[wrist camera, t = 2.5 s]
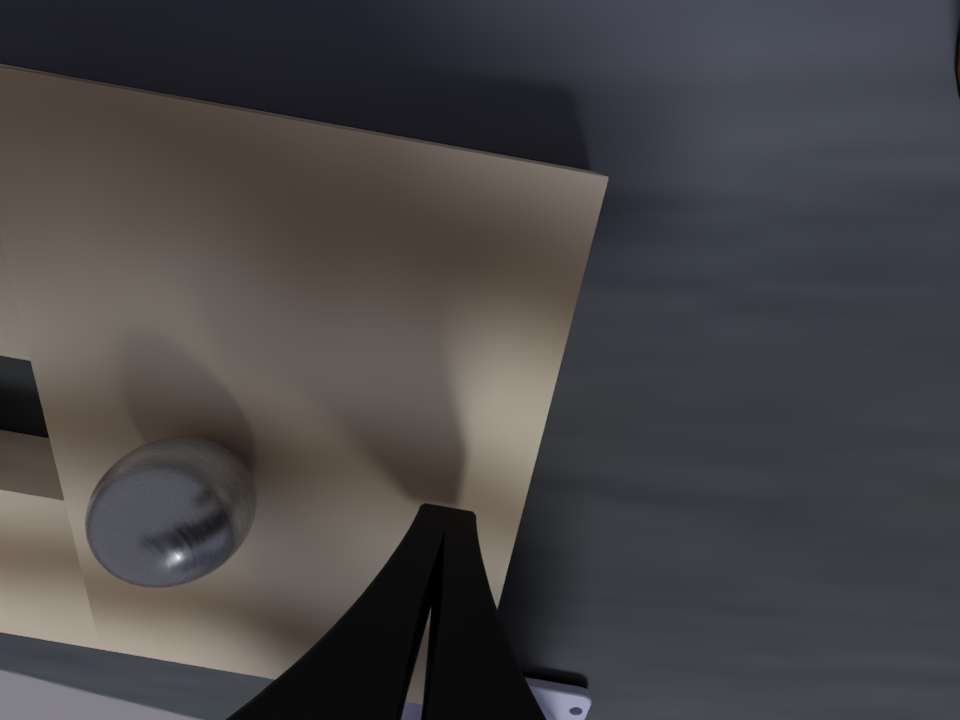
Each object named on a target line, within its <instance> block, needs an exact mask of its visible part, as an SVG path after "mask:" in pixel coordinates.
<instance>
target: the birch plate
mask: <svg viewBox="0 0 960 720" xmlns="http://www.w3.org/2000/svg"><path fill="white" fill-rule="evenodd" d="M608 179H609V177H607V176H604V175H602V174H599V173H596V172H593V171H590V170H584V169H579V168H573V167H568V166H562V165H557V164H551V163H546V162H540V161H535V160H529V159H523V158H518V157H512V156H507V155H501V154H496V153H490V152H485V151H479V150H474V149H468V148H463V147H457V146H452V145H446V144H441V143H435V142H430V141H424V140H418V139H413V138H407V137H402V136H396V135H391V134H385V133H380V132H374V131H369V130H363V129H358V128H352V127H347V126H341V125H336V124H330V123H325V122H319V121H313V120H308V119H302V118H297V117H291V116H286V115H280V114H275V113H269V112H264V111H258V110H253V109H247V108H242V107H236V106H231V105H225V104H219V103H214V102H208V101H203V100H197V99H192V98H186V97H181V96H175V95H170V94H164V93H159V92H153V91H148V90H142V89H137V88H131V87H126V86H120V85H114V84H109V83H103V82H98V81H92V80H87V79H81V78H76V77H70V76H65V75H59V74H54V73H48V72H43V71H37V70H32V69H26V68H21V67H15V66H9V65H4V64H0V356H6V357H12V358H17V359H23V360H29V361H31V364H32V368H33V373H34V377H35V381H36V385H37V389H38V393H39V397H40V401H41V406H42V410H43V414H44V418H45V422H46V426H47V430H48V435H49V438H45V437H39V436H33V435H28V434H22V433H16V432H11V431H5V430H0V632H3V633H9V634H15V635H20V636H26V637H32V638H38V639H44V640H50V641H55V642H61V643H67V644H73V645H79V646H84V647H90V648H96V649H102V650H108V651H113V652H119V653H125V654H131V655H137V656H143V657H148V658H154V659H160V660H166V661H172V662H177V663H183V664H189V665H195V666H201V667H207V668H212V669H218V670H224V671H230V672H236V673H241V674H247V675H253V676H259V677H265V678H271V679H277V678H278V677H279V676H280V675H282V674H283V673H284V672H285V671H286V670H287V669H289V668H290V667H291V666H292V665H293V664H294V663H296V662H297V661H298V660H299V659H300V658H301V657H302V656H303V655H304V654H305V653H306V652H307V651H308V650H310V649H311V648H312V647H313V646H314V645H315V644H316V643H317V642H318V641H319V640H320V639H321V638H322V637H323V636H324V635H325V634H326V633H327V632H328V631H329V630H330V629H331V628H332V627H333V626H334V625H335V624H336V623H337V621H338V620H339V619H340V618H341V617H342V616H343V615H344V614H345V613H346V612H347V611H348V610H349V608H350V607H351V606H352V605H353V604H354V603H355V602H356V600H357V599H358V598H359V597H360V596H361V595H362V593H363V592H364V591H365V590H366V588H367V587H368V586H369V585H370V583H371V582H372V581H373V580H374V578H375V577H376V576H377V575H378V573H379V572H380V571H381V569H382V568H383V567H384V565H385V564H386V563H387V561H388V560H389V558H390V557H391V555H392V554H393V553H394V551H395V550H396V548H397V547H398V545H399V544H400V542H401V541H402V539H403V538H404V536H405V534H406V533H407V531H408V529H409V528H410V526H411V524H412V522H413V520H414V518H415V516H416V515H417V512H418V510H419V507H420V506H421V505H423V504H424V503H428V504H434V505H439V506H445V507H451V508H457V509H462V510H468V511H473V512H474V513H475V515H476V523H477V532H478V539H479V545H480V550H481V555H482V559H483V563H484V567H485V571H486V575H487V578H488V582H489V586H490V589H491V592H492V596H493V599H494V602H495V605H496V608H497V609H498V605H499V601H500V597H501V593H502V589H503V585H504V582H505V578H506V574H507V570H508V566H509V562H510V558H511V554H512V551H513V547H514V543H515V539H516V535H517V531H518V527H519V523H520V520H521V516H522V512H523V508H524V504H525V500H526V496H527V492H528V489H529V485H530V481H531V477H532V473H533V469H534V465H535V461H536V458H537V454H538V450H539V446H540V442H541V438H542V434H543V430H544V427H545V423H546V419H547V415H548V411H549V407H550V403H551V399H552V396H553V392H554V388H555V384H556V380H557V376H558V372H559V368H560V365H561V361H562V357H563V353H564V349H565V345H566V341H567V337H568V334H569V330H570V326H571V322H572V318H573V314H574V310H575V306H576V303H577V299H578V295H579V291H580V287H581V283H582V279H583V275H584V272H585V268H586V264H587V260H588V256H589V252H590V248H591V244H592V241H593V237H594V233H595V229H596V225H597V221H598V217H599V213H600V210H601V206H602V202H603V198H604V194H605V190H606V186H607V182H608ZM175 436H194V437H201V438H205V439H209V440H212V441H215V442H218V443H220V444H222V445H224V446H226V447H227V448H229V449H230V450H232V451H233V452H234V453H235V454H237V455H238V456H239V457H240V458H241V459H242V461H243V462H244V463H245V465H246V466H247V468H248V469H249V471H250V473H251V475H252V477H253V480H254V484H255V488H256V495H257V505H256V512H255V517H254V521H253V524H252V526H251V529H250V531H249V533H248V535H247V537H246V539H245V540H244V542H243V543H242V545H241V546H240V548H239V549H238V550H237V551H236V553H235V554H234V555H233V556H232V557H231V558H230V559H229V560H228V561H226V562H225V563H224V564H223V565H222V566H220V567H219V568H217V569H216V570H215V571H213V572H212V573H210V574H208V575H206V576H204V577H202V578H200V579H198V580H196V581H193V582H190V583H187V584H184V585H180V586H174V587H169V588H146V587H140V586H136V585H132V584H129V583H126V582H124V581H122V580H120V579H118V578H116V577H114V576H113V575H111V574H110V573H109V572H107V571H106V570H105V569H104V568H103V567H102V566H101V565H100V564H99V562H98V561H97V560H96V559H95V557H94V555H93V554H92V552H91V550H90V547H89V544H88V541H87V538H86V531H85V517H86V510H87V506H88V503H89V500H90V497H91V495H92V493H93V490H94V489H95V487H96V485H97V483H98V482H99V480H100V479H101V478H102V476H103V475H104V474H105V473H106V471H107V470H108V469H109V468H110V467H111V466H112V465H113V464H115V463H116V462H117V461H118V460H119V459H120V458H122V457H123V456H124V455H126V454H127V453H129V452H130V451H132V450H134V449H136V448H138V447H140V446H142V445H144V444H146V443H149V442H152V441H155V440H158V439H162V438H168V437H175ZM430 615H431V609H430V613H429V617H428V621H427V624H426V628H425V632H424V635H423V639H422V643H421V646H420V650H419V654H418V657H417V661H416V665H415V668H414V672H413V675H412V679H411V683H410V686H409V690H408V694H407V697H406V701H405V702H410V703H416V704H422V705H423V695H424V684H425V672H426V661H427V649H428V638H429V627H430Z"/></svg>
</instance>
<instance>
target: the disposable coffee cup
mask: <svg viewBox="0 0 960 720" xmlns="http://www.w3.org/2000/svg"><path fill="white" fill-rule="evenodd" d="M957 71H958V78H959V84H960V43H959V54H958V70H957Z"/></svg>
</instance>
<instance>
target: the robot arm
mask: <svg viewBox="0 0 960 720" xmlns="http://www.w3.org/2000/svg"><path fill="white" fill-rule="evenodd" d="M430 609H431V615H430V627H429V638H428V649H427V661H426V672H425V684H424V695H423V705H422V704H416V703H410V702H405V701H406V697H407V694H408V690H409V686H410V683H411V679H412V675H413V672H414V668H415V665H416V661H417V657H418V654H419V650H420V646H421V643H422V639H423V635H424V632H425V628H426V624H427V621H428V617H429V613H430ZM590 706H591V696H590V693H589V691H588V690H587V689H585V688H583V687H579V686H573V685H568V684H562V683H556V682H550V681H545V680H539V679H533V678H527V677H524V675H523V672H522V670H521V668H520V666H519V664H518V662H517V659H516V657H515V655H514V652H513V650H512V648H511V645H510V643H509V640H508V638H507V635H506V633H505V630H504V628H503V625H502V622H501V620H500V617H499V614H498V611H497V608H496V605H495V602H494V599H493V596H492V592H491V589H490V586H489V582H488V578H487V575H486V571H485V567H484V563H483V559H482V555H481V550H480V545H479V539H478V532H477V523H476V515H475V513H474V512H473V511H468V510H462V509H457V508H451V507H445V506H439V505H434V504H428V503H424V504H423V505H421V506H420V507H419V510H418V512H417V515H416V516H415V518H414V520H413V522H412V524H411V526H410V528H409V529H408V531H407V533H406V534H405V536H404V538H403V539H402V541H401V542H400V544H399V545H398V547H397V548H396V550H395V551H394V553H393V554H392V555H391V557H390V558H389V560H388V561H387V563H386V564H385V565H384V567H383V568H382V569H381V571H380V572H379V573H378V575H377V576H376V577H375V578H374V580H373V581H372V582H371V583H370V585H369V586H368V587H367V588H366V590H365V591H364V592H363V593H362V595H361V596H360V597H359V598H358V599H357V600H356V602H355V603H354V604H353V605H352V606H351V607H350V608H349V610H348V611H347V612H346V613H345V614H344V615H343V616H342V617H341V618H340V619H339V620H338V621H337V623H336V624H335V625H334V626H333V627H332V628H331V629H330V630H329V631H328V632H327V633H326V634H325V635H324V636H323V637H322V638H321V639H320V640H319V641H318V642H317V643H316V644H315V645H314V646H313V647H312V648H311V649H310V650H308V651H307V652H306V653H305V654H304V655H303V656H302V657H301V658H300V659H299V660H298V661H297V662H296V663H294V664H293V665H292V666H291V667H290V668H289V669H287V670H286V671H285V672H284V673H283V674H282V675H280V676H279V677H278V678H277V679H276V680H275V681H273V682H272V683H271V684H270V685H269V686H268V687H266V688H265V689H264V690H263V691H262V692H261V693H259V694H258V695H257V696H256V697H254V698H253V699H252V700H251V701H249V702H248V703H247V704H246V705H244V706H243V707H242V708H240V709H239V710H238V711H236V712H235V713H234V714H232V715H231V716H230V717H228V718H227V719H226V720H585V717H586V715H587V713H588V710H589V708H590Z"/></svg>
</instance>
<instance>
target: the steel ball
mask: <svg viewBox="0 0 960 720" xmlns="http://www.w3.org/2000/svg"><path fill="white" fill-rule="evenodd" d="M256 505H257V495H256V488H255V484H254V480H253V477H252V475H251V473H250V471H249V469H248V468H247V466H246V465H245V463H244V462H243V461H242V459H241V458H240V457H239V456H238V455H237V454H235V453H234V452H233V451H232V450H230V449H229V448H227V447H226V446H224V445H222V444H220V443H218V442H215V441H212V440H209V439H205V438H201V437H194V436H175V437H168V438H162V439H158V440H155V441H152V442H149V443H146V444H144V445H142V446H140V447H138V448H136V449H134V450H132V451H130V452H129V453H127V454H126V455H124V456H123V457H122V458H120V459H119V460H118V461H117V462H116V463H115V464H113V465H112V466H111V467H110V468H109V469H108V470H107V471H106V473H105V474H104V475H103V476H102V478H101V479H100V480H99V482H98V483H97V485H96V487H95V489H94V490H93V493H92V495H91V497H90V500H89V503H88V506H87V510H86V517H85V531H86V538H87V541H88V544H89V547H90V550H91V552H92V554H93V555H94V557H95V559H96V560H97V561H98V562H99V564H100V565H101V566H102V567H103V568H104V569H105V570H106V571H107V572H109V573H110V574H111V575H113V576H114V577H116V578H118V579H120V580H122V581H124V582H126V583H129V584H132V585H136V586H140V587H146V588H169V587H174V586H180V585H184V584H187V583H190V582H193V581H196V580H198V579H200V578H202V577H204V576H206V575H208V574H210V573H212V572H213V571H215V570H216V569H217V568H219V567H220V566H222V565H223V564H224V563H225V562H226V561H228V560H229V559H230V558H231V557H232V556H233V555H234V554H235V553H236V551H237V550H238V549H239V548H240V546H241V545H242V543H243V542H244V540H245V539H246V537H247V535H248V533H249V531H250V529H251V526H252V524H253V521H254V517H255V512H256Z"/></svg>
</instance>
